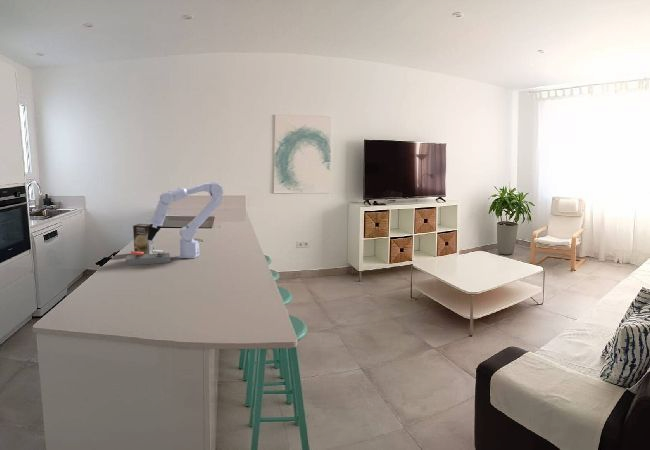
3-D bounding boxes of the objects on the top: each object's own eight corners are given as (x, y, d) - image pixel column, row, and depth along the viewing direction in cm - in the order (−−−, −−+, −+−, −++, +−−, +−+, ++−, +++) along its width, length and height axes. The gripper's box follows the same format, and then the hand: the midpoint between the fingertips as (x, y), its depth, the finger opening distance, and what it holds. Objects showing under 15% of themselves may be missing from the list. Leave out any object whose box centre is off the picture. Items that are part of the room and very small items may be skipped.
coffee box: (133, 254, 217) (132, 225, 215) (140, 252, 224) (138, 223, 221) (149, 255, 216) (148, 226, 214) (155, 252, 223) (154, 224, 220)
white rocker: (164, 252, 209) (165, 250, 209) (165, 253, 206) (165, 251, 206) (152, 251, 206) (152, 249, 206) (152, 252, 203) (152, 250, 203)
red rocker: (143, 254, 205) (144, 252, 205) (143, 255, 202) (144, 253, 202) (130, 252, 202) (131, 250, 202) (130, 254, 200) (130, 252, 199)
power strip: (169, 258, 211) (169, 251, 210) (170, 262, 203) (170, 255, 202) (127, 261, 203) (126, 254, 203) (126, 265, 195) (125, 258, 194)
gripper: (153, 210, 212) (143, 234, 212) (150, 212, 198) (140, 238, 198) (166, 215, 214) (157, 239, 214) (164, 217, 201) (155, 243, 200)
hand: (150, 239), depth 206 cm, fingers open, 7 cm apart
